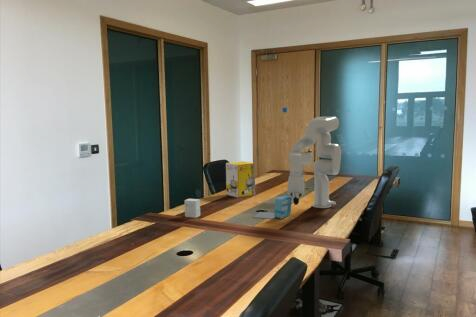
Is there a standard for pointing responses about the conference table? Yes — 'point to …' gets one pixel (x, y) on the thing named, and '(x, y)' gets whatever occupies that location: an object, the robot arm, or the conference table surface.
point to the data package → (282, 207)
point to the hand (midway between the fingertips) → (296, 204)
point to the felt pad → (265, 215)
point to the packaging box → (240, 179)
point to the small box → (192, 208)
